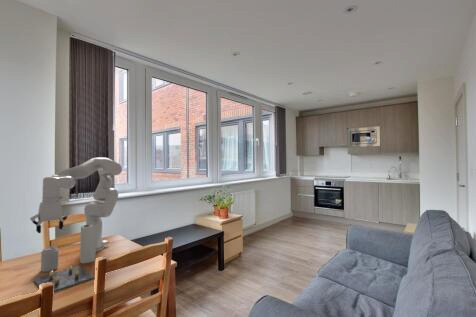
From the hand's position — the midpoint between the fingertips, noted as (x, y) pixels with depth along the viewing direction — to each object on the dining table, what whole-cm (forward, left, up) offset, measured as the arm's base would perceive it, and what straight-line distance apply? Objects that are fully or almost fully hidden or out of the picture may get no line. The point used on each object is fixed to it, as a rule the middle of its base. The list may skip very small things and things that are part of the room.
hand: (50, 230), depth 135 cm
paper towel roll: (-17, +4, -22) cm, 28 cm away
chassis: (-1, +19, -21) cm, 29 cm away
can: (0, 0, -22) cm, 22 cm away
